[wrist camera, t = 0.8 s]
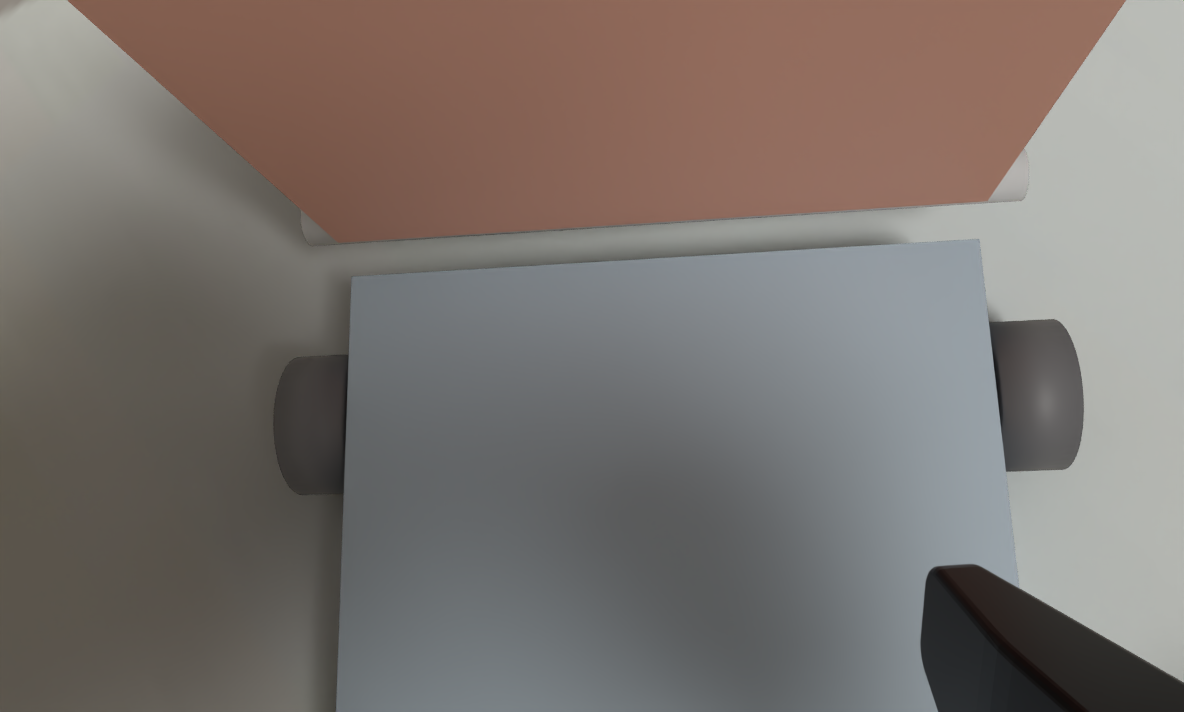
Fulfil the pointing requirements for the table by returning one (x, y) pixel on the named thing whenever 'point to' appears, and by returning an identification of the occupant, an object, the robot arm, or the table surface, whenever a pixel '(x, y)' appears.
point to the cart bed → (669, 475)
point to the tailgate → (612, 104)
